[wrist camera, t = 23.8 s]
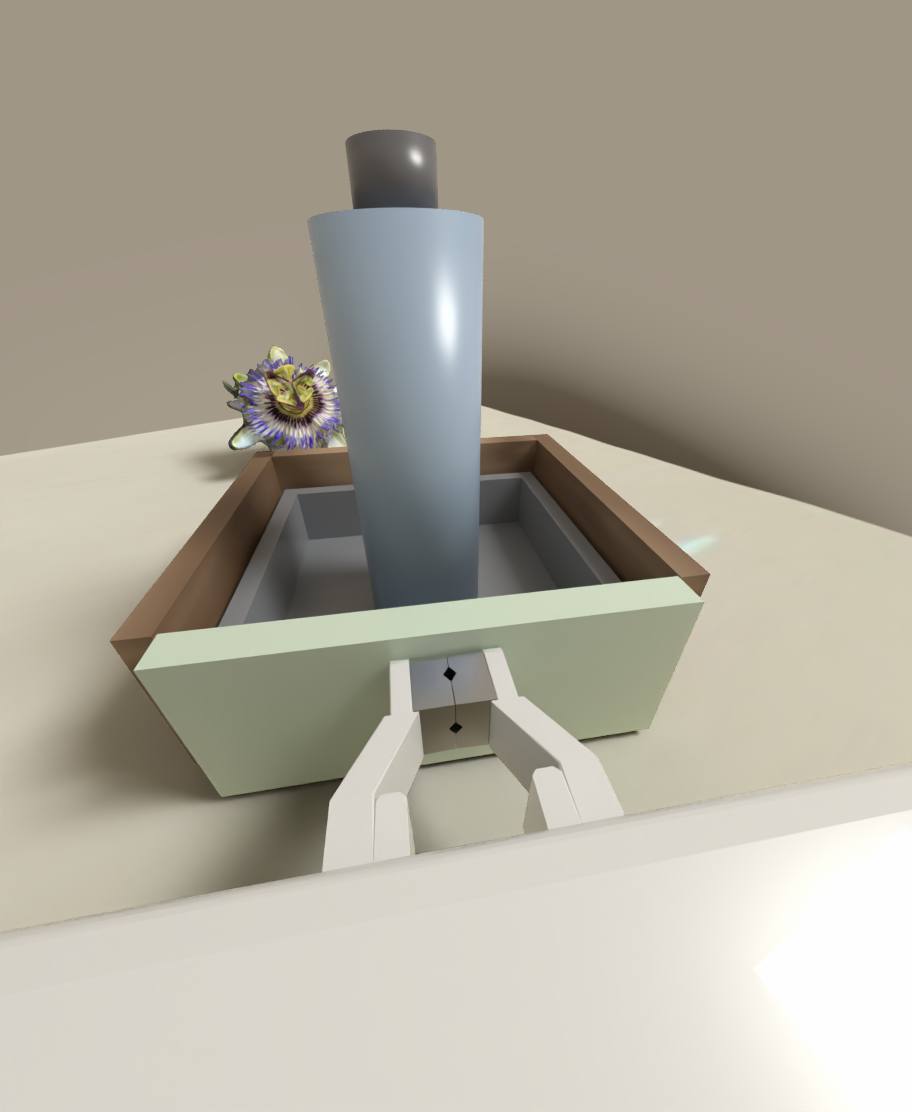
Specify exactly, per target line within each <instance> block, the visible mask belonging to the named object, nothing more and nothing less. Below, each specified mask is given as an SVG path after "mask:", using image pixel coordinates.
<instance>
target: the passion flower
mask: <svg viewBox="0 0 912 1112" xmlns="http://www.w3.org/2000/svg"><path fill="white" fill-rule="evenodd" d="M257 365H258V367H257V369H256V370H255V371H253V370H252V369H250V370H249V372H248V374H247V376H245V375H242V374H238V373H237V374H234V375H233V379H234V381H235V386H234V388H232V387H231V385H229V384H228V383H227V382H226V381H225V380H223V384H224V387H225V388H226V389H227V390H228V391H229V392H230V393H231V394H232V395H233V396H234V399H233V400H232V401H229V402H227V405H228V406H229V407H230V408H232V409H235V410H238V411H240V412H241V413H243V414H242V415H243V422H244V423H243V425H242V427H240V428H239V429H238V430H237V432H235V433H234V435H233V436H232V437H231V439H230V440H229V447H230V448H231V449H233V450H242V449H247V448H249V447H251V446H253V445H255V444H256V443H257V442H262V443H264V444H265V445H267V446H268V447H269V449H270V451H281V450H297V449H313V448H330V447H346V446H347V445H346V440H345V438H344V435H343V432H342V427H343V422H342V416H341V411H340V405H339V399H338V394H337V388H336V385H328V383H330V382H331V381H332V379H331V380H329V381H328V380H327V378H328V376H329V373H330V363H329V362H328V361H327V360H323V361H321V362H320V363H318V364H315V365H312V366H311V367H309V368H308V369H307V368H305V369H304V370H302V363H301V364H300V365H299V366H298V368H295V367H294V366H293V357H290V356H289V357H287V356H286V355H285V353H284V351H283V350H282V349H280V348H278V347H276V346H274V345H273V347H272V348H271V349H270V350H269V353H268V358H267V359H265V360H264V361H263V364H262V365H259V364H257ZM239 390H241V393H240V394H238V391H239Z"/></svg>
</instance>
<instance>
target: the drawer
mask: <svg viewBox="0 0 912 1112" xmlns="http://www.w3.org/2000/svg"><path fill="white" fill-rule="evenodd" d="M703 604H704V601H703V600H702V599H701V598H700V597H699V596H698V595H697V594H696V593H695V592H694V591H693V590H692V589H691V588H690V587H689V586H688V585H687V584H686V583H685V582H684V581H683V580H681V579H680V578H679V577H678V576H674V577H665V578H656V579H648V580H639V581H630V582H621V580H620V579H619V578H618V577H617V576H616V574H615V573H614V572H613V571H612V569H611V568H610V567H609V566H608V565H607V563H606V562H605V561H604V560H603V559H602V557H601V556H600V555H599V554H598V553H597V551H596V550H595V549H594V548H593V547H592V545H591V544H590V543H589V542H588V541H587V539H586V538H585V537H584V536H583V534H582V533H581V532H580V531H579V530H578V528H577V527H576V526H575V525H574V524H573V522H572V521H571V520H570V519H569V518H568V516H567V515H566V514H565V513H564V512H563V510H562V509H561V508H560V507H559V505H558V504H557V503H556V502H555V501H554V499H553V498H552V497H551V496H550V495H549V493H548V492H547V491H546V490H545V489H544V487H543V486H542V485H541V484H540V483H539V481H538V480H537V479H536V478H535V477H534V475H533V474H532V473H531V472H519V473H506V474H492V475H480V498H479V564H478V598H477V599H468V600H459V601H450V602H441V603H432V604H423V605H414V606H405V607H396V608H387V609H378V610H376V609H375V604H374V598H373V593H372V587H371V581H370V576H369V570H368V564H367V559H366V553H365V547H364V541H363V536H362V530H361V524H360V519H359V513H358V507H357V502H356V496H355V490H354V485H341V486H327V487H314V488H300V489H286V490H285V491H284V493H283V495H282V497H281V499H280V501H279V503H278V505H277V507H276V509H275V511H274V513H273V515H272V518H271V520H270V522H269V524H268V526H267V528H266V530H265V532H264V534H263V536H262V538H261V540H260V542H259V544H258V546H257V548H256V550H255V552H254V554H253V556H252V558H251V561H250V563H249V565H248V567H247V569H246V571H245V573H244V575H243V577H242V579H241V581H240V583H239V585H238V587H237V589H236V591H235V593H234V595H233V597H232V599H231V602H230V604H229V606H228V608H227V610H226V612H225V614H224V616H223V618H222V620H221V622H220V624H219V626H218V627H217V628H208V629H199V630H190V631H181V632H172V633H163V634H157V635H156V637H155V638H154V640H153V641H152V643H151V644H150V646H149V648H148V649H147V651H146V652H145V654H144V655H143V657H142V658H141V660H140V661H139V663H138V664H137V666H136V667H135V669H134V670H133V671H134V672H135V674H136V675H137V677H138V678H139V680H140V681H141V683H142V684H143V685H144V687H145V688H146V690H147V691H148V693H149V694H150V695H151V697H152V698H153V700H154V701H155V703H156V704H157V705H158V707H159V708H160V710H161V711H162V713H163V714H164V715H165V717H166V718H167V720H168V721H169V723H170V724H171V725H172V727H173V728H174V730H175V731H176V733H177V734H178V736H179V737H180V738H181V740H182V741H183V743H184V744H185V746H186V747H187V748H188V750H189V751H190V753H191V754H192V756H193V757H194V758H195V760H196V761H197V763H198V764H199V766H200V767H201V768H202V770H203V771H204V773H205V774H206V776H207V777H208V778H209V780H210V781H211V783H212V784H213V786H214V787H215V789H216V790H217V791H218V793H219V794H220V796H221V797H226V796H232V795H238V794H244V793H250V792H257V791H263V790H269V789H275V788H282V787H288V786H294V785H300V784H306V783H313V782H319V781H325V780H331V779H337V778H344V777H346V775H347V773H348V772H349V770H350V769H351V767H352V766H353V764H354V763H355V761H356V759H357V758H358V756H359V755H360V753H361V752H362V750H363V749H364V747H365V745H366V744H367V742H368V741H369V739H370V738H371V736H372V735H373V733H374V731H375V730H376V728H377V727H378V725H379V724H380V722H381V721H382V719H383V717H384V716H388V715H390V687H389V664H390V661H395V660H405V659H412V658H422V657H432V656H442V655H446V654H453V653H460V652H468V651H475V650H484V649H491V648H499V647H500V648H501V649H502V650H503V653H504V656H505V659H506V662H507V665H508V668H509V671H510V674H511V677H512V679H513V682H514V685H515V688H516V691H517V694H518V697H522V696H524V697H525V698H527V699H528V700H529V701H530V702H532V703H533V704H534V705H535V706H536V707H538V708H539V709H540V710H541V711H542V712H544V713H545V714H546V715H547V716H549V717H550V718H551V719H552V720H553V721H555V722H556V723H557V724H558V725H560V726H561V727H562V728H563V729H564V730H566V731H567V732H568V733H569V734H570V735H572V736H573V737H574V738H575V739H577V740H580V739H586V738H592V737H599V736H605V735H611V734H617V733H624V732H630V731H636V730H642V729H648V728H649V726H650V724H651V722H652V720H653V717H654V715H655V713H656V711H657V708H658V706H659V704H660V702H661V699H662V697H663V695H664V692H665V690H666V688H667V686H668V683H669V681H670V679H671V677H672V674H673V672H674V670H675V667H676V665H677V663H678V661H679V658H680V656H681V654H682V652H683V649H684V647H685V645H686V643H687V640H688V638H689V636H690V633H691V631H692V629H693V627H694V624H695V622H696V620H697V618H698V615H699V613H700V611H701V609H702V606H703ZM409 664H410V663H409ZM493 753H494V752H493V751H492V749H491V748H490V747H489V744H488V745H481V746H473V747H465V748H457V747H456V749H451V750H446V751H441V752H435V753H430V754H425V755H424V758H423V760H422V762H421V765H425V764H431V763H437V762H443V761H449V760H456V759H462V758H468V757H474V756H481V755H487V754H493Z"/></svg>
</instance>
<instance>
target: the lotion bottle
mask: <svg viewBox="0 0 912 1112" xmlns="http://www.w3.org/2000/svg"><path fill="white" fill-rule="evenodd" d="M345 146H346V153H347V162H348V170H349V177H350V186H351V194H352V201H353V209H352V210H343V211H335V212H329V213H324V214H319V215H316V216H313V217H311V218H309V219H308V221H307V223H308V228H309V234H310V240H311V245H312V251H313V257H314V263H315V268H316V274H317V280H318V285H319V291H320V297H321V302H322V307H323V313H324V320H325V325H326V331H327V336H328V342H329V348H330V353H331V359H332V365H333V370H334V376H335V382H336V388H337V394H338V399H339V405H340V411H341V416H342V422H343V428H344V433H345V439H346V445H347V450H348V456H349V462H350V467H351V473H352V479H353V485H354V490H355V496H356V502H357V507H358V513H359V519H360V524H361V530H362V536H363V541H364V547H365V553H366V559H367V564H368V570H369V576H370V581H371V587H372V593H373V598H374V604H375V609H376V610H378V609H387V608H396V607H405V606H414V605H423V604H432V603H441V602H450V601H459V600H468V599H477V598H478V564H479V498H480V432H481V366H482V365H481V364H482V300H483V299H482V296H483V295H482V294H483V233H484V219H483V218H482V217H481V216H478V215H476V214H472V213H467V212H462V211H455V210H445V209H438V187H437V157H436V142H435V141H434V140H433V139H432V138H430V137H428V136H426V135H423V134H420V133H416V132H411V131H403V130H374V131H367V132H362V133H358V134H355V135H353V136H351V137H349V138H348V139H347V140H346V142H345Z"/></svg>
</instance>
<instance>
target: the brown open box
mask: <svg viewBox="0 0 912 1112" xmlns="http://www.w3.org/2000/svg"><path fill="white" fill-rule="evenodd" d="M519 472H531V473H532V474H533V475H534V477H535V478H536V479H537V480H538V481H539V483H540V484H541V485H542V486H543V487H544V489H545V490H546V491H547V492H548V493H549V495H550V496H551V497H552V498H553V499H554V501H555V502H556V503H557V504H558V505H559V507H560V508H561V509H562V510H563V512H564V513H565V514H566V515H567V516H568V518H569V519H570V520H571V521H572V522H573V524H574V525H575V526H576V527H577V528H578V530H579V531H580V532H581V533H582V534H583V536H584V537H585V538H586V539H587V541H588V542H589V543H590V544H591V545H592V547H593V548H594V549H595V550H596V551H597V553H598V554H599V555H600V556H601V557H602V559H603V560H604V561H605V562H606V563H607V565H608V566H609V567H610V568H611V569H612V571H613V572H614V573H615V574H616V576H617V577H618V578H619V579H620V580H621V582H630V581H639V580H648V579H656V578H665V577H674V576H678V577H679V578H680V579H681V580H683V581H684V582H685V583H686V584H687V585H688V586H689V587H690V588H691V589H692V590H693V591H694V592H695V593H696V594H697V595H698V596H699V597H701V595H702V592H703V590H704V588H705V585H706V583H707V581H708V578H709V576H710V573H709V572H707V571H706V570H705V569H704V568H703V567H702V566H700V565H699V564H698V563H697V562H696V561H695V560H693V559H692V558H691V557H690V556H689V555H688V554H686V553H685V552H684V551H683V550H682V549H681V548H679V547H678V546H677V545H676V544H675V543H674V542H672V541H671V540H670V539H669V538H668V537H667V536H665V535H664V534H663V533H662V532H661V531H660V530H658V529H657V528H656V527H655V526H654V525H653V524H651V523H650V522H649V521H648V520H647V519H646V518H644V517H643V516H642V515H641V514H640V513H639V512H637V511H636V510H635V509H634V508H633V507H632V506H630V505H629V504H628V503H627V502H626V501H625V500H623V499H622V498H621V497H620V496H619V495H618V494H617V493H615V492H614V491H613V490H612V489H611V488H610V487H608V486H607V485H606V484H605V483H604V482H603V481H601V480H600V479H599V478H598V477H597V476H596V475H594V474H593V473H592V472H591V471H590V470H589V469H587V468H586V467H585V466H584V465H583V464H582V463H580V462H579V461H578V460H577V459H576V458H575V457H573V456H572V455H571V454H570V453H569V452H568V451H566V450H565V449H564V448H563V447H562V446H561V445H559V444H558V443H557V442H556V441H555V440H554V439H552V438H551V437H550V436H549V435H548V434H542V435H526V436H509V437H493V438H480V475H492V474H506V473H519ZM341 485H353V479H352V473H351V467H350V462H349V456H348V450H347V446H346V447H330V448H313V449H297V450H281V451H264V452H257V453H256V454H255V455H254V456H253V458H252V459H251V460H250V462H249V463H248V464H247V465H246V467H245V468H244V469H243V471H242V472H241V473H240V474H239V476H238V477H237V478H236V480H235V481H234V482H233V483H232V485H231V486H230V487H229V489H228V490H227V491H226V492H225V494H224V495H223V496H222V498H221V499H220V500H219V501H218V503H217V504H216V505H215V507H214V508H213V509H212V510H211V512H210V513H209V514H208V516H207V517H206V518H205V519H204V521H203V522H202V523H201V525H200V526H199V527H198V528H197V530H196V531H195V532H194V534H193V535H192V536H191V537H190V539H189V540H188V541H187V543H186V544H185V545H184V546H183V548H182V549H181V550H180V552H179V553H178V554H177V555H176V557H175V558H174V559H173V561H172V562H171V563H170V564H169V566H168V567H167V568H166V570H165V571H164V572H163V573H162V575H161V576H160V577H159V579H158V580H157V581H156V582H155V584H154V585H153V586H152V588H151V589H150V590H149V591H148V593H147V594H146V595H145V597H144V598H143V599H142V600H141V602H140V603H139V604H138V606H137V607H136V608H135V609H134V611H133V612H132V613H131V615H130V616H129V617H128V618H127V620H126V621H125V622H124V624H123V625H122V626H121V627H120V629H119V630H118V631H117V633H116V634H115V635H114V636H113V638H112V639H111V640H110V642H111V644H112V645H113V647H114V648H115V649H116V651H117V652H118V654H119V655H120V656H121V658H122V659H123V661H124V662H125V664H126V665H127V666H128V668H129V669H130V671H131V672H132V674H133V675H134V676H135V678H136V679H137V681H138V682H139V683H140V685H141V686H142V688H143V689H144V691H145V692H146V693H147V695H148V696H149V698H150V699H151V701H152V702H153V703H154V705H155V706H156V708H157V709H158V710H159V712H160V713H161V715H162V716H163V718H164V719H165V720H166V722H167V723H168V725H169V726H170V728H171V729H172V730H173V732H174V733H175V735H176V736H177V737H178V739H179V740H180V742H181V743H182V745H183V746H184V747H185V749H186V750H187V752H188V753H189V754H190V756H191V757H192V759H193V760H194V762H195V763H196V764H197V761H196V760H195V758H194V757H193V756H192V754H191V753H190V751H189V750H188V748H187V747H186V746H185V744H184V743H183V741H182V740H181V738H180V737H179V736H178V734H177V733H176V731H175V730H174V728H173V727H172V725H171V724H170V723H169V721H168V720H167V718H166V717H165V715H164V714H163V713H162V711H161V710H160V708H159V707H158V705H157V704H156V703H155V701H154V700H153V698H152V697H151V695H150V694H149V693H148V691H147V690H146V688H145V687H144V685H143V684H142V683H141V681H140V680H139V678H138V677H137V675H136V674H135V672H134V671H133V670H134V669H135V667H136V666H137V664H138V663H139V661H140V660H141V658H142V657H143V655H144V654H145V652H146V651H147V649H148V648H149V646H150V644H151V643H152V641H153V640H154V638H155V637H156V635H157V634H163V633H172V632H181V631H190V630H199V629H208V628H217V627H218V626H219V624H220V622H221V620H222V618H223V616H224V614H225V612H226V610H227V608H228V606H229V604H230V602H231V599H232V597H233V595H234V593H235V591H236V589H237V587H238V585H239V583H240V581H241V579H242V577H243V575H244V573H245V571H246V569H247V567H248V565H249V563H250V561H251V558H252V556H253V554H254V552H255V550H256V548H257V546H258V544H259V542H260V540H261V538H262V536H263V534H264V532H265V530H266V528H267V526H268V524H269V522H270V520H271V518H272V515H273V513H274V511H275V509H276V507H277V505H278V503H279V501H280V499H281V497H282V495H283V493H284V491H285V490H286V489H300V488H314V487H327V486H341Z"/></svg>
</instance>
